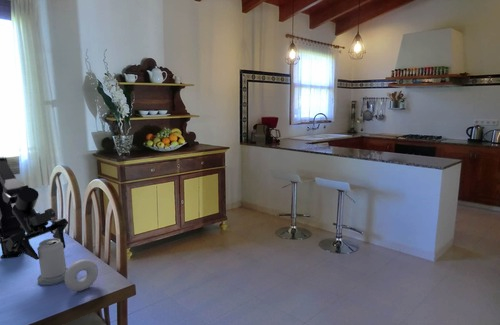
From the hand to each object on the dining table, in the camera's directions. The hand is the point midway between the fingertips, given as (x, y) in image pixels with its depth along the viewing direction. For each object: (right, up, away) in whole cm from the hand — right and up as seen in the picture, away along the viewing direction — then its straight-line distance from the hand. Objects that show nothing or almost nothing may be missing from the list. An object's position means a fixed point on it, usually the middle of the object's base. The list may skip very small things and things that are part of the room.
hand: (51, 253), depth 115 cm
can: (0, -8, +2) cm, 8 cm away
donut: (+13, -10, -6) cm, 18 cm away
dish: (0, -9, +2) cm, 9 cm away
